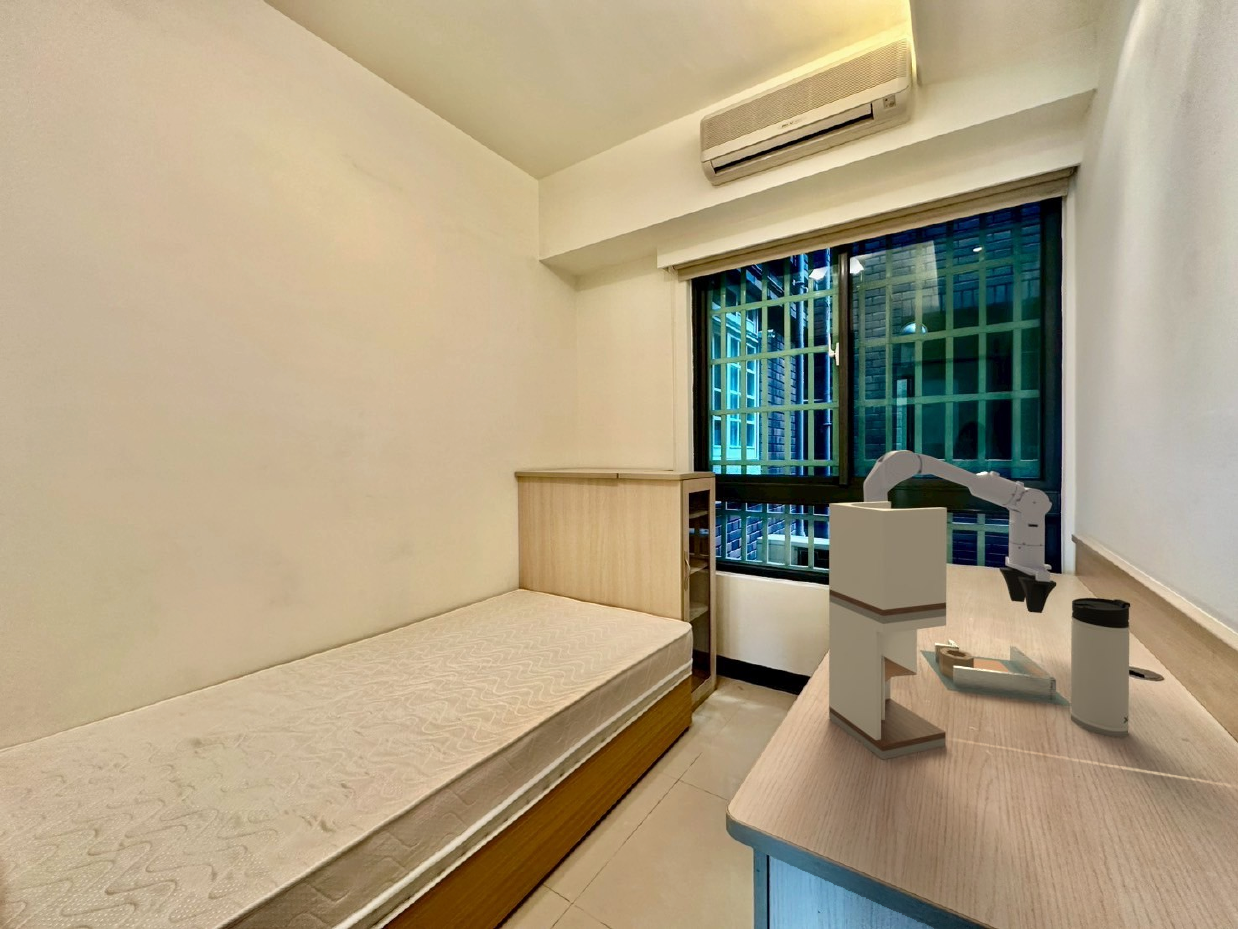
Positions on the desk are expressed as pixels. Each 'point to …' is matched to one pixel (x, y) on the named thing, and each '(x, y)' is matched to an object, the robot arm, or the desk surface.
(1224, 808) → the desk surface
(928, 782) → the desk surface
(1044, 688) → the metal walled tray
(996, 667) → the pad
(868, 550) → the cream shelf tower
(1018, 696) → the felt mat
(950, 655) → the oak ring
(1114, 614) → the travel mug
